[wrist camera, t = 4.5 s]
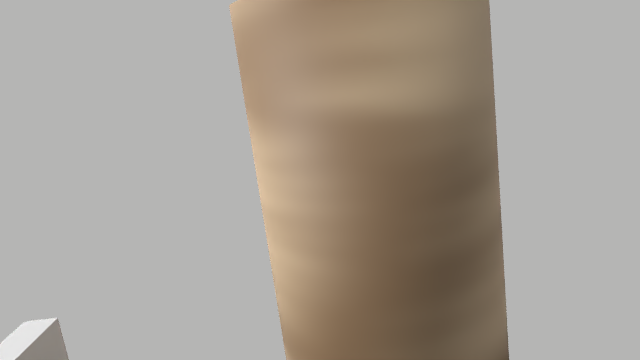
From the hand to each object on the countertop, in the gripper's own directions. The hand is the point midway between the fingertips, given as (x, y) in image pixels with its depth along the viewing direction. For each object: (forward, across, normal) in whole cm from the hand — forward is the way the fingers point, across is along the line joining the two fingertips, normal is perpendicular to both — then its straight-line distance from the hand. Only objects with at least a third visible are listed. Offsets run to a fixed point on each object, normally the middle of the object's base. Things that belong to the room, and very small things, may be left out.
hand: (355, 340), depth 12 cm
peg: (-1, +1, -9) cm, 9 cm away
